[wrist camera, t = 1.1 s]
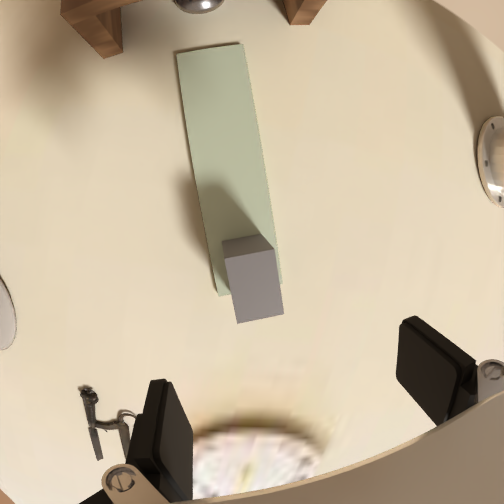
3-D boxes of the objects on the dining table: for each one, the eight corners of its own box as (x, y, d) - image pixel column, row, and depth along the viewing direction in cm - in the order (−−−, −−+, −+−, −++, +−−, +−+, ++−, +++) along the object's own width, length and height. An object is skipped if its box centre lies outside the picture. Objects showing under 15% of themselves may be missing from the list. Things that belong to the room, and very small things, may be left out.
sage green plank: (242, 48, 23) (251, 12, 17) (280, 280, 29) (300, 310, 22) (177, 57, 23) (167, 24, 16) (218, 292, 29) (220, 326, 22)
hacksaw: (81, 382, 30) (77, 389, 28) (163, 399, 31) (162, 408, 30) (103, 482, 35) (101, 489, 33) (162, 494, 36) (162, 501, 35)
